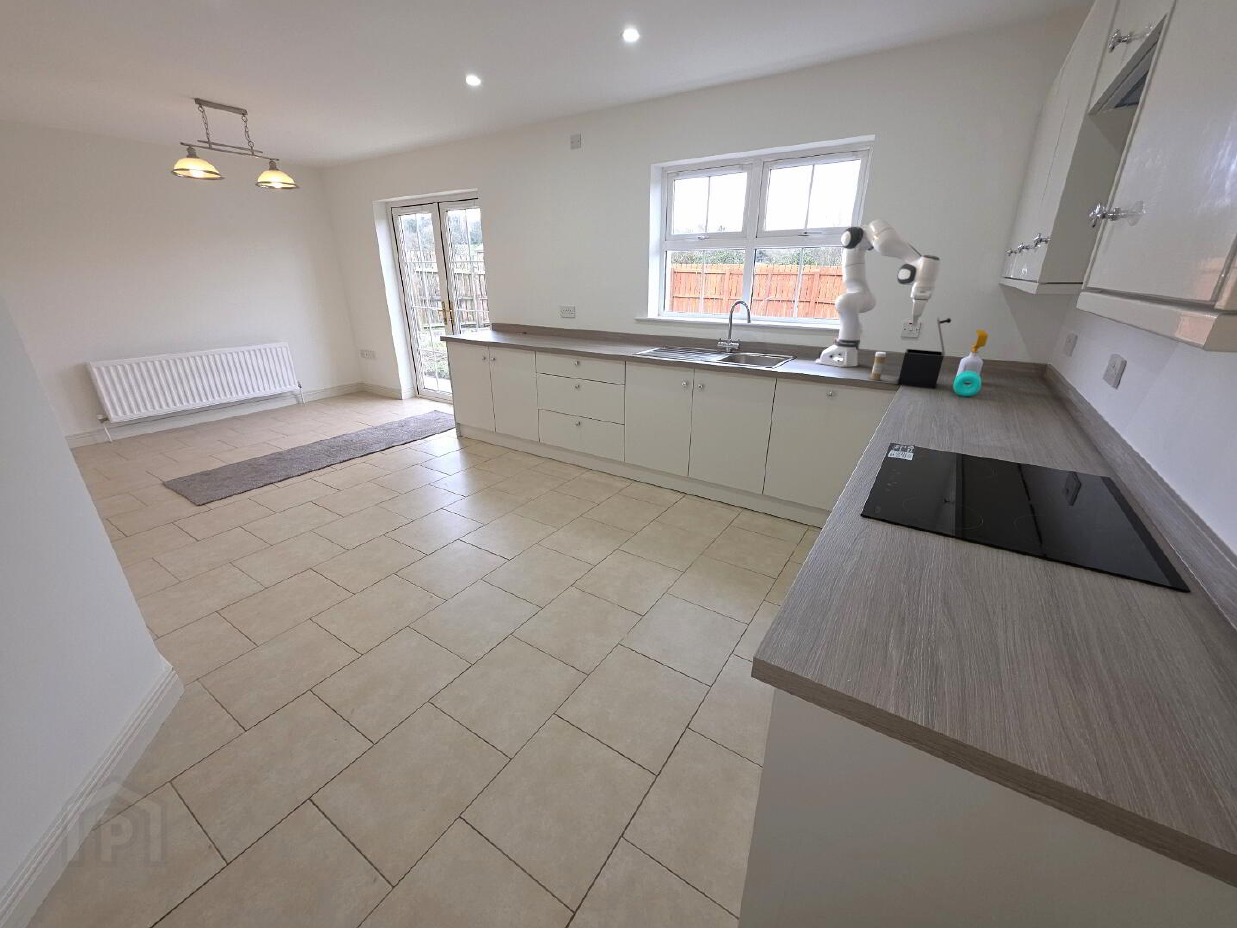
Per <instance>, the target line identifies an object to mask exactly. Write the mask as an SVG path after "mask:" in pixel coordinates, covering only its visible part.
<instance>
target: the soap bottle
mask: <svg viewBox="0 0 1237 928" xmlns="http://www.w3.org/2000/svg"><path fill="white" fill-rule="evenodd" d="M974 332H975V334H977V339H976V342H975V344H974V343H973V344H972V343H971V344H970V346H971V347H972V350H970V353H969V355H968V356H965V357H963V358H961V360H960V362H959V365H958V368H957V372H956V376H957V375H958V374H960V373H962V372H965V371H973V372H976V373H977V374H978V375H979V376H980V375H981V371H982V368H983V365H984V360H982V359H981V357H979V353H980V351H979V349H980V348H983V347H985V346H986V344H987V340H988V337H989V335H988V333H987V332H986V331H985V330H982V329H981V330H980V329H979V330H977V329H975V330H974ZM956 376H955V377H956ZM964 384H971V383H970V382H965V383H964Z"/></svg>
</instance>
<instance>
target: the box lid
mask: <svg viewBox="0 0 1237 928" xmlns="http://www.w3.org/2000/svg"><path fill="white" fill-rule="evenodd" d="M936 321H937V327H938V333H939V339H940V345H941V352H943V355H944V356H946V349H945V344H944V343H945V342H944V337H943V332H942V327H941V325H942V324H945V323H946V324H950V323H951V322H952V319H951V317H947V318H946V319H943V320H941V319H940V316H937V317H936Z"/></svg>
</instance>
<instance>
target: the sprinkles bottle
mask: <svg viewBox="0 0 1237 928" xmlns="http://www.w3.org/2000/svg"><path fill="white" fill-rule="evenodd" d="M874 356H875V357H874V362H873V366H872V371H871V376H870V379H871V380H873V381H880V380H881V377H882V373H883V369H884V365H885V359H886V356H887V352H885V351H876V352H875V355H874Z"/></svg>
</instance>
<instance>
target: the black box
mask: <svg viewBox="0 0 1237 928" xmlns="http://www.w3.org/2000/svg"><path fill="white" fill-rule="evenodd" d="M903 355H904V356H903V359H902V364H901V368H900V372H899V376H898V381H897V385H898V386H906V387H916V388H917V387H918V388H923V389H924V388H925V389H932V390H935V389H936V387H937V382H938V379H939V377H940V373H941V368H942V365H943V361H944V357H945V355H943V352H942V351H938V350H926V349H916V348H915V349H914V348H906V349H905V352H904V354H903Z"/></svg>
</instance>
